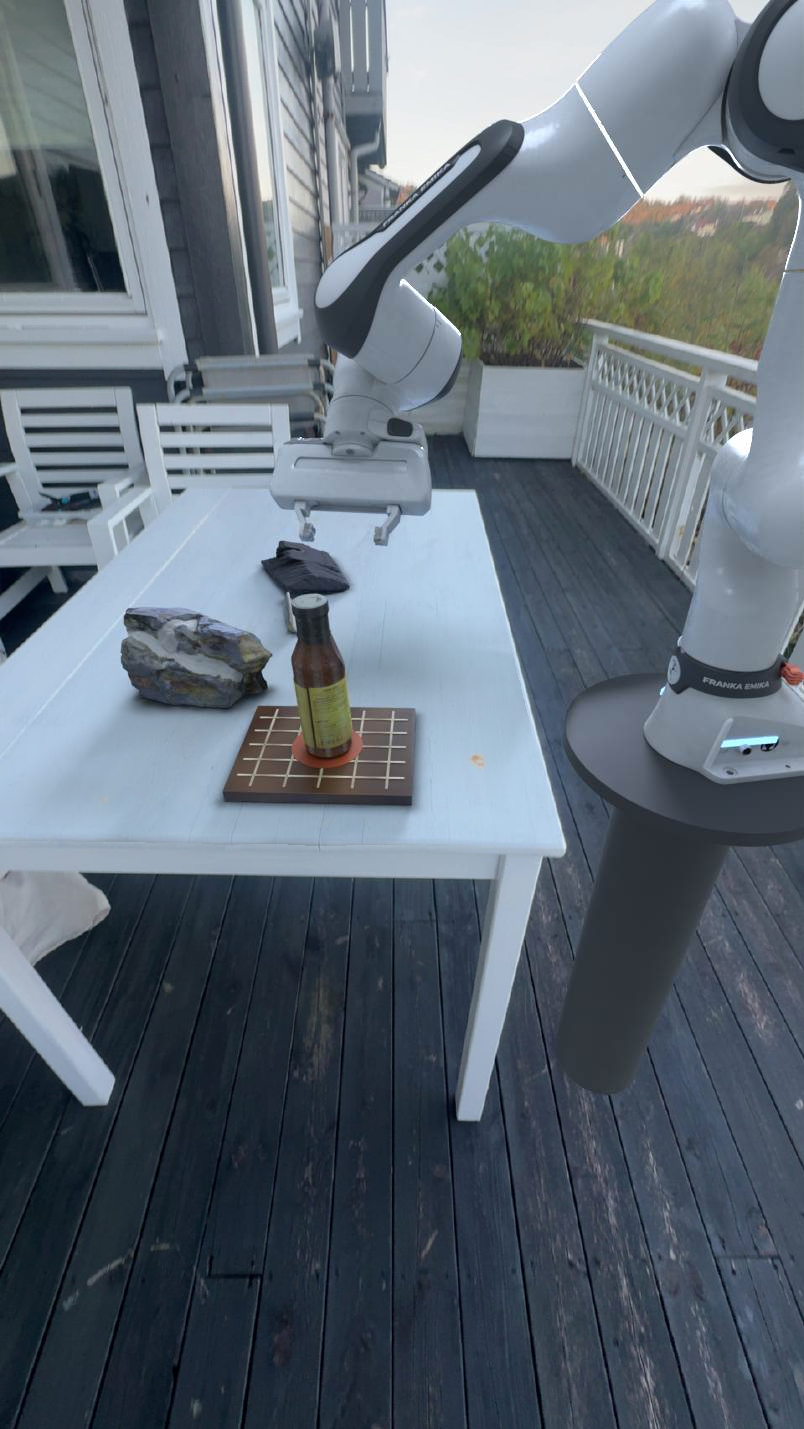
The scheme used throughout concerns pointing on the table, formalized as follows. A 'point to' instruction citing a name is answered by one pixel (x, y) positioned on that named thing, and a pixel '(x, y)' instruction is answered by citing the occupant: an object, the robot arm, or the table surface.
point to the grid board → (325, 760)
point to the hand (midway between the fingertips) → (342, 541)
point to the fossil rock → (191, 658)
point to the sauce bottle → (320, 680)
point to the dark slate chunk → (304, 569)
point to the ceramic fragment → (289, 614)
